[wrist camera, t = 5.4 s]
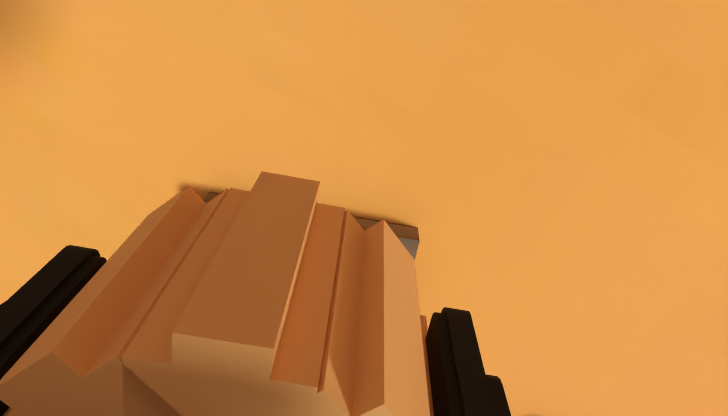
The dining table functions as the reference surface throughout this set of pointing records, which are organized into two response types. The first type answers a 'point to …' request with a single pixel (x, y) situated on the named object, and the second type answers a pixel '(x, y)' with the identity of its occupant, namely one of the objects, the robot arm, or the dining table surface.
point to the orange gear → (237, 317)
